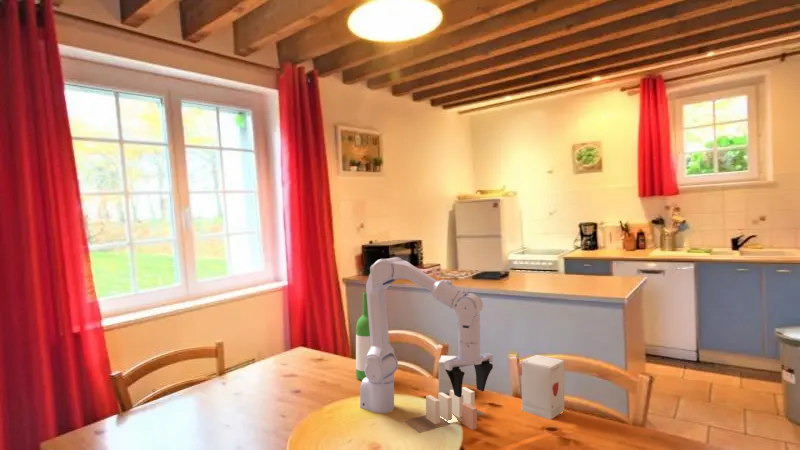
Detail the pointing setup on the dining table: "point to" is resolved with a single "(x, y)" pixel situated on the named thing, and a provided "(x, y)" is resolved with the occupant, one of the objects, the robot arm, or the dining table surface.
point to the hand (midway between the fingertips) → (469, 393)
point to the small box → (444, 375)
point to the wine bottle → (362, 340)
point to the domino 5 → (469, 416)
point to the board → (429, 422)
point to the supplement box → (543, 386)
